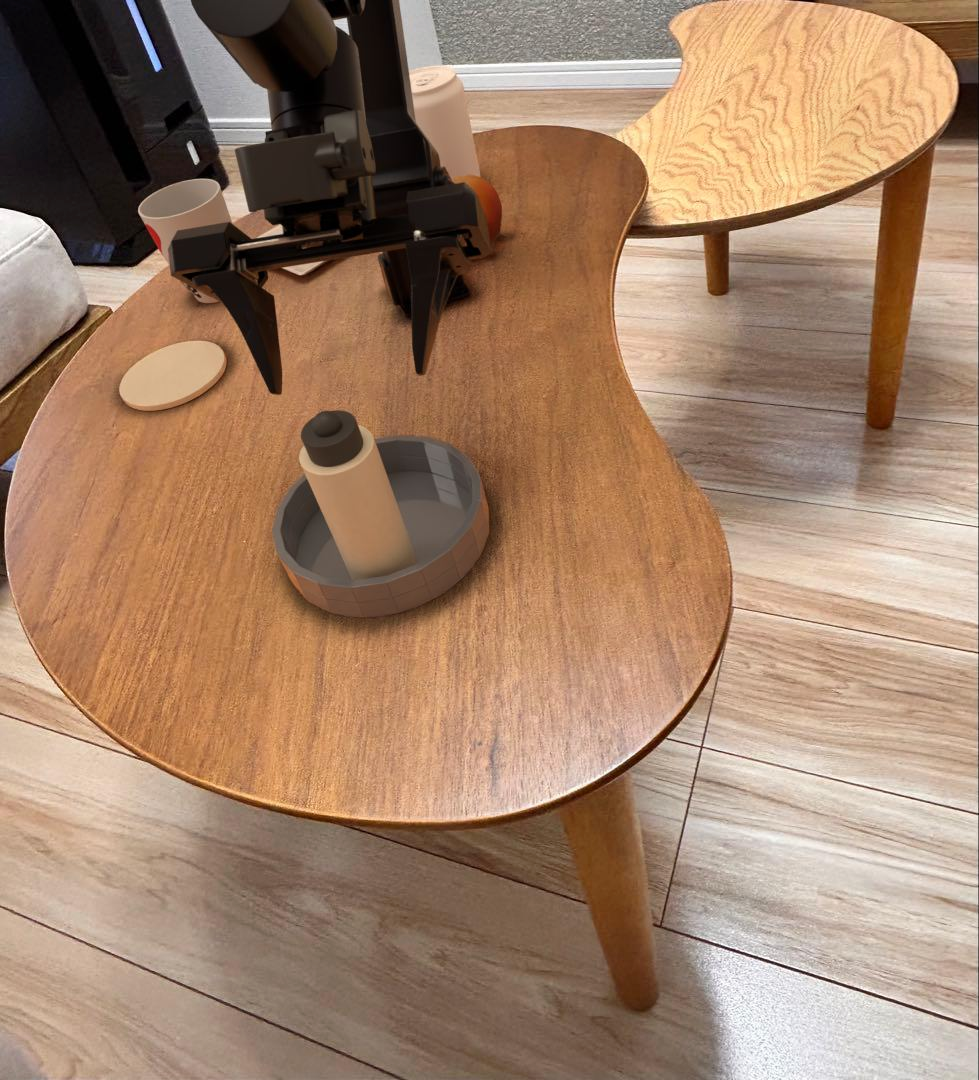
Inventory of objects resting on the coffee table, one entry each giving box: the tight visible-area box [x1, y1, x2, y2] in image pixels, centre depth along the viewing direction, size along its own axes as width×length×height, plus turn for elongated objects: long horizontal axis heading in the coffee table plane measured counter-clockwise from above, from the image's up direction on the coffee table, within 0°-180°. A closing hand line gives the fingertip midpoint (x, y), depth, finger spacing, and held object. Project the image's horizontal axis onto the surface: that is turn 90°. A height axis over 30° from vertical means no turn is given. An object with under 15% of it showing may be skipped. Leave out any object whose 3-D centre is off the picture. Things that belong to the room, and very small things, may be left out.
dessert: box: [256, 224, 331, 276], centre depth 92 cm, size 12×12×5 cm
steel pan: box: [271, 434, 490, 619], centre depth 59 cm, size 14×14×4 cm
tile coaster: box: [118, 340, 228, 412], centre depth 80 cm, size 10×10×1 cm
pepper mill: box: [298, 409, 418, 580], centre depth 52 cm, size 4×4×14 cm
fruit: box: [452, 175, 507, 256], centre depth 85 cm, size 8×8×8 cm
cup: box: [137, 178, 234, 304], centre depth 87 cm, size 8×8×10 cm
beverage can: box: [409, 65, 482, 179], centre depth 93 cm, size 8×8×12 cm
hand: (347, 384), depth 53 cm, fingers open, 9 cm apart
